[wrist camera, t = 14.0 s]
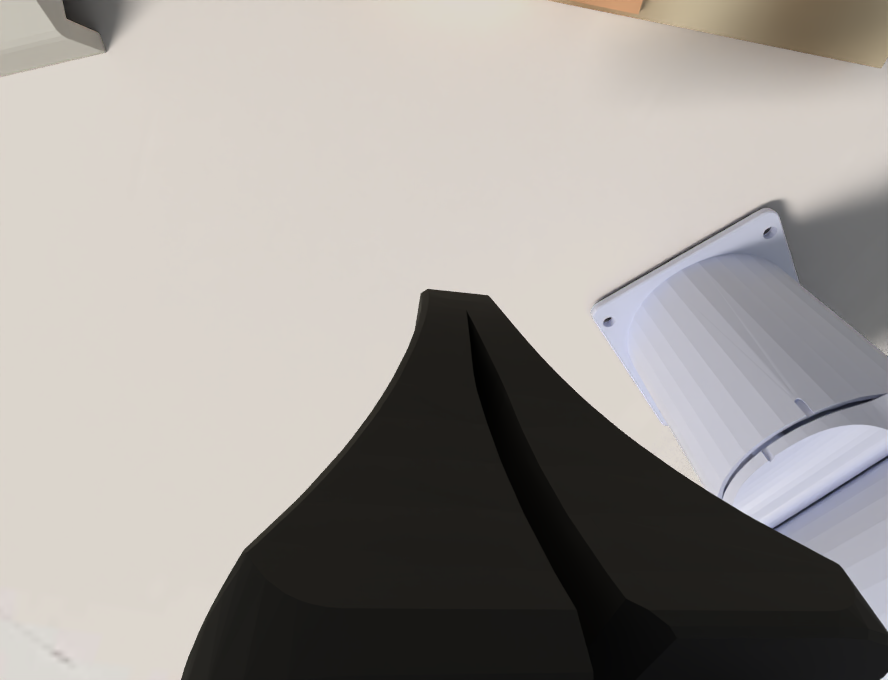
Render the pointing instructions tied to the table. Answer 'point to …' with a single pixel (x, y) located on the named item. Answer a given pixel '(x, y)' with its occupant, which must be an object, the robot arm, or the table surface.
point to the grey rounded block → (41, 36)
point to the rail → (773, 23)
